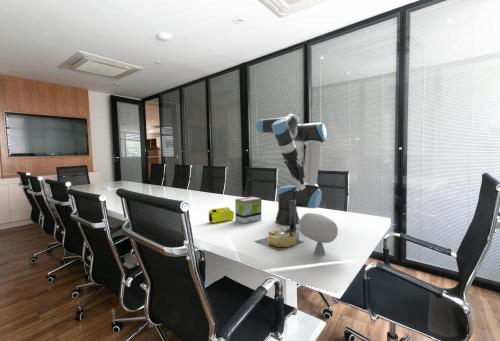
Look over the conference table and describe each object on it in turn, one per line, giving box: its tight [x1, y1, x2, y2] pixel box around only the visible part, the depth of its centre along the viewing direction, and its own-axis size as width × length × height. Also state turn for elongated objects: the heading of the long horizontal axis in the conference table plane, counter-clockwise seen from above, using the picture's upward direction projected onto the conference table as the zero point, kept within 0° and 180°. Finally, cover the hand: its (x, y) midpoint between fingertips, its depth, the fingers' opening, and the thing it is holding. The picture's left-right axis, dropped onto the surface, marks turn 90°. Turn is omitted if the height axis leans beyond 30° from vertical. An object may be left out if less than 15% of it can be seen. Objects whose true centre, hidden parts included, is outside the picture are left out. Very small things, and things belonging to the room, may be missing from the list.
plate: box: [253, 229, 304, 252], centre depth 124 cm, size 17×18×6 cm
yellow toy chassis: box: [208, 206, 235, 224], centre depth 168 cm, size 16×6×8 cm, turn 124°
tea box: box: [234, 196, 262, 224], centre depth 168 cm, size 15×10×15 cm, turn 131°
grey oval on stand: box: [298, 212, 339, 256], centre depth 111 cm, size 15×20×18 cm
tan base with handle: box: [268, 200, 298, 248], centre depth 123 cm, size 16×13×19 cm
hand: (302, 188), depth 135 cm, fingers closed
